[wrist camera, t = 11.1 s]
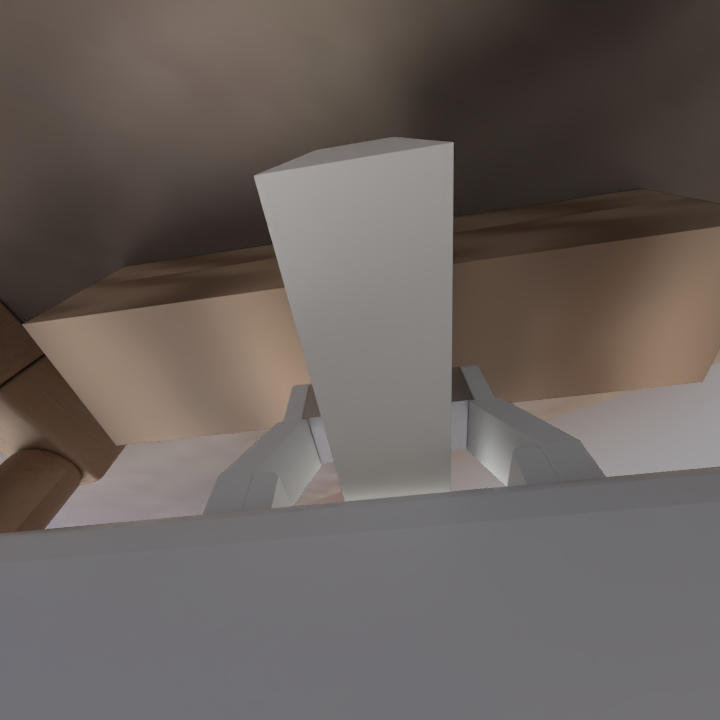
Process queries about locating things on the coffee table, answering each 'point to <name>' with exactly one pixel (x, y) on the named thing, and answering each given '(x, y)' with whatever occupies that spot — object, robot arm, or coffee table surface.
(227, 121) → the coffee table surface
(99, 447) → the wooden block
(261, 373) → the walnut crossbar
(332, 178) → the white rectangular slab
